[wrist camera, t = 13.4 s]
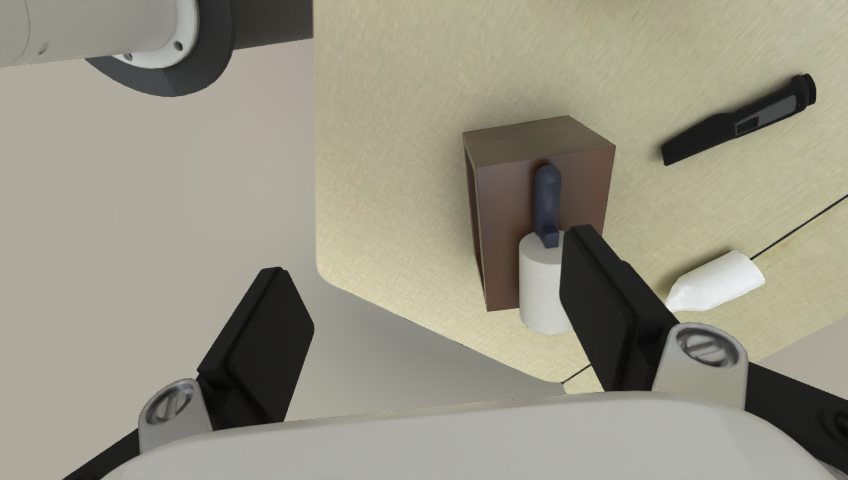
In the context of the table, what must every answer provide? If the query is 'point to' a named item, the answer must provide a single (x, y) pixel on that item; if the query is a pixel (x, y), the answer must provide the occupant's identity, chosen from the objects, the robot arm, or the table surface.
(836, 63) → the table surface
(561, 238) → the lint roller
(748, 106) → the electric trimmer
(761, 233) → the table surface
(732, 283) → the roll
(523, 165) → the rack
